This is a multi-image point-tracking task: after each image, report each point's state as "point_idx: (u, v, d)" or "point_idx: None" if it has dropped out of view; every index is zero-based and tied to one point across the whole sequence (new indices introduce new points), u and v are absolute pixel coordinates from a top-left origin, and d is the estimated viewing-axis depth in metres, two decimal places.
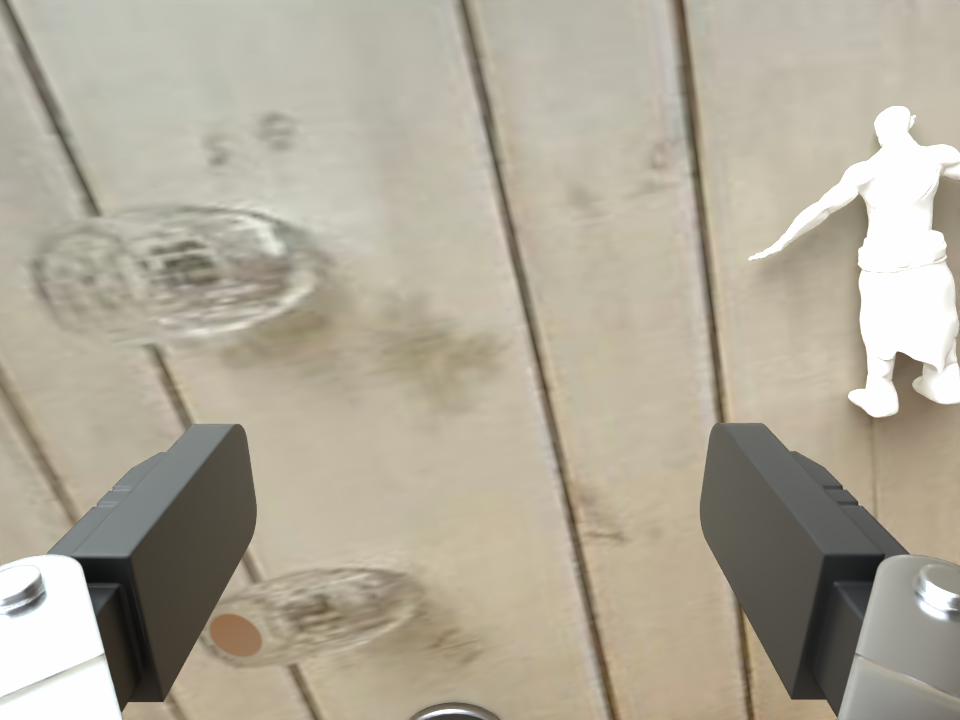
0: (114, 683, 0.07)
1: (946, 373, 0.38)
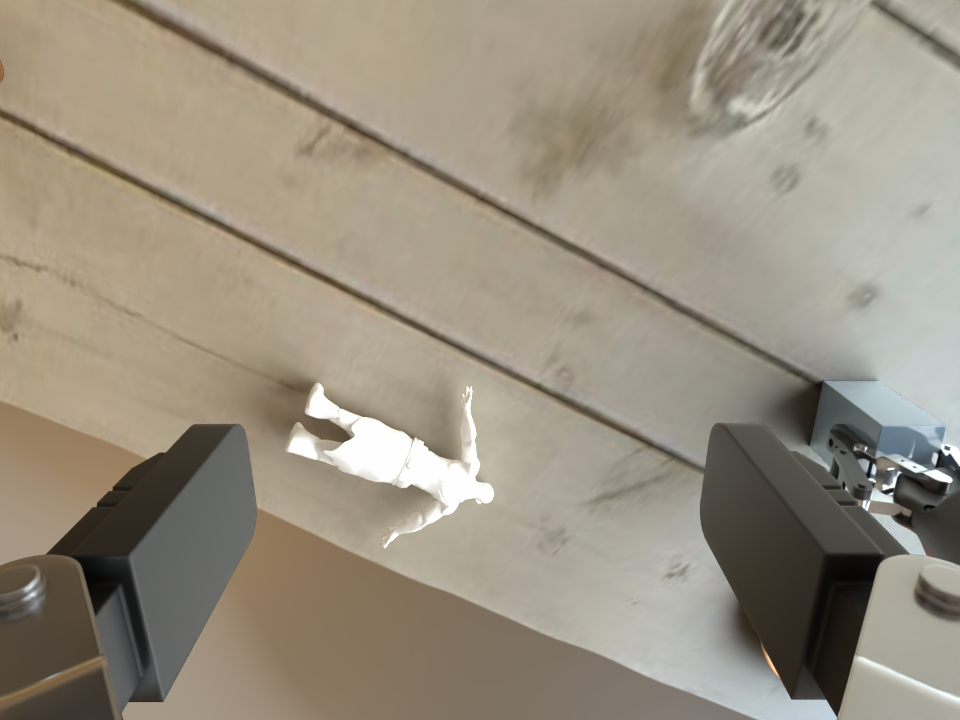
0: (113, 683, 0.07)
1: (312, 450, 0.52)
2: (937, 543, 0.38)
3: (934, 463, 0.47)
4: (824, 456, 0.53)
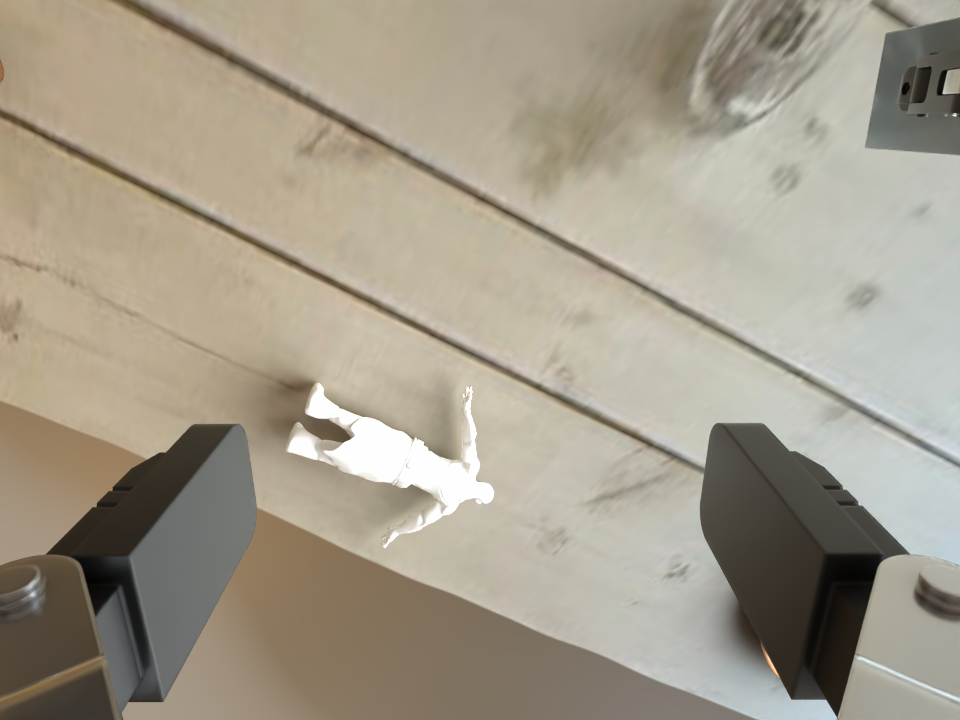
0: (113, 683, 0.07)
1: (312, 450, 0.52)
2: None
3: None
4: (890, 142, 0.36)
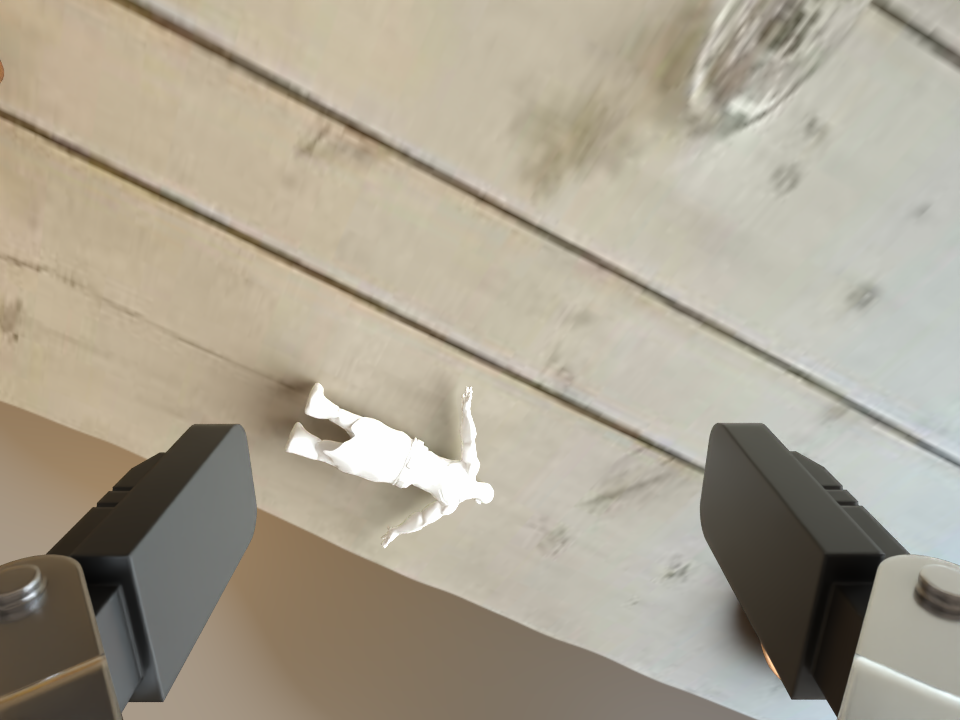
0: (113, 683, 0.07)
1: (312, 450, 0.52)
2: None
3: None
4: None
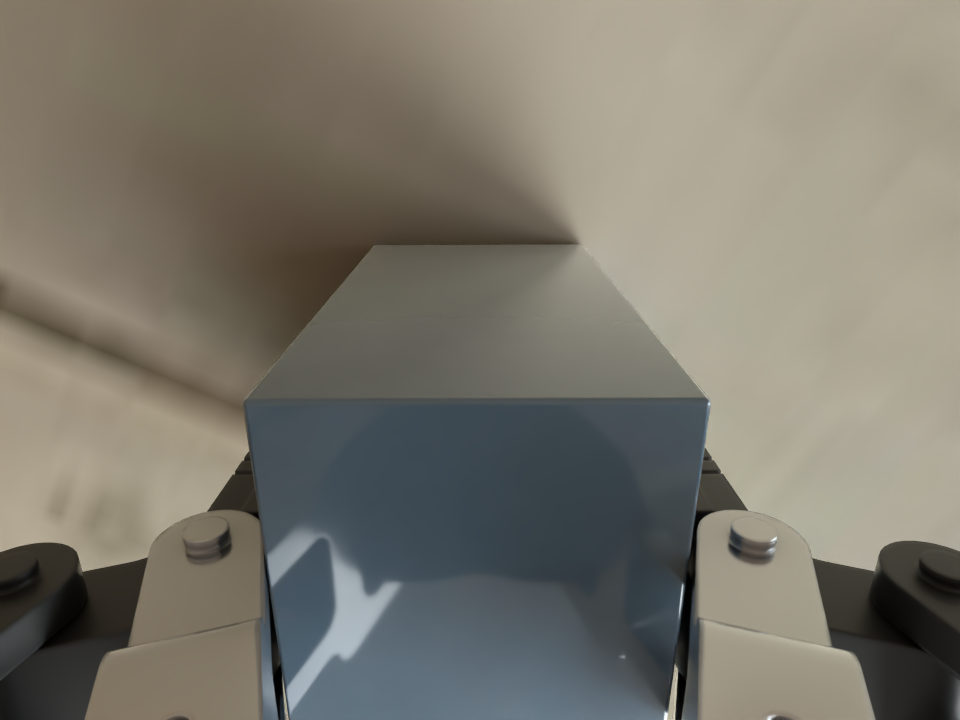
0: None
1: None
2: None
3: (666, 642, 0.07)
4: None
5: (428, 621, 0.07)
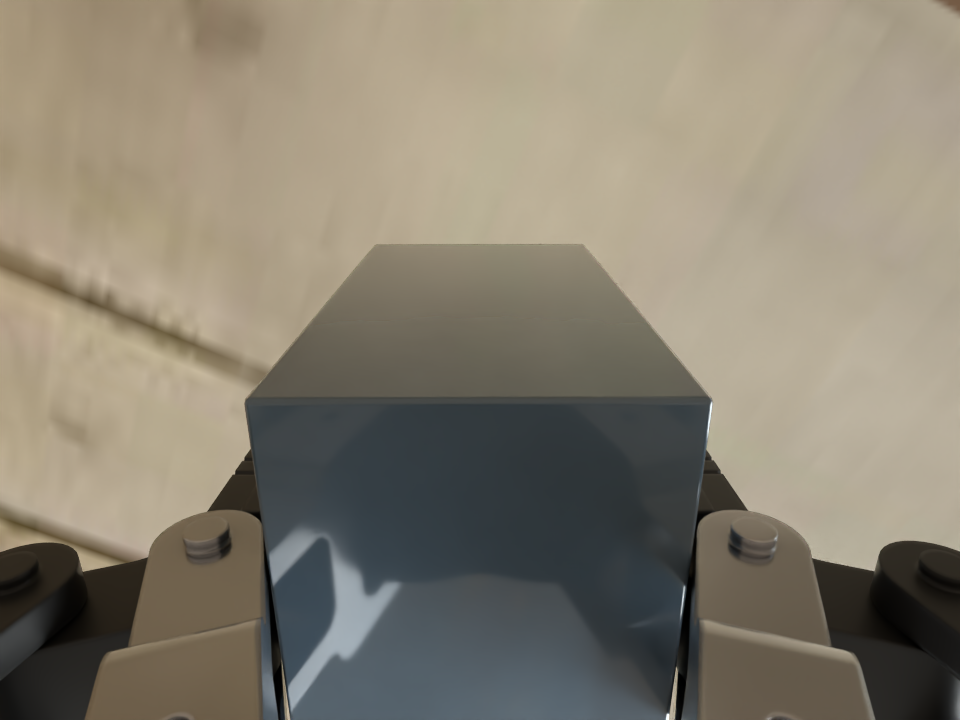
0: (278, 638, 0.08)
1: None
2: None
3: (667, 641, 0.07)
4: None
5: (429, 620, 0.07)
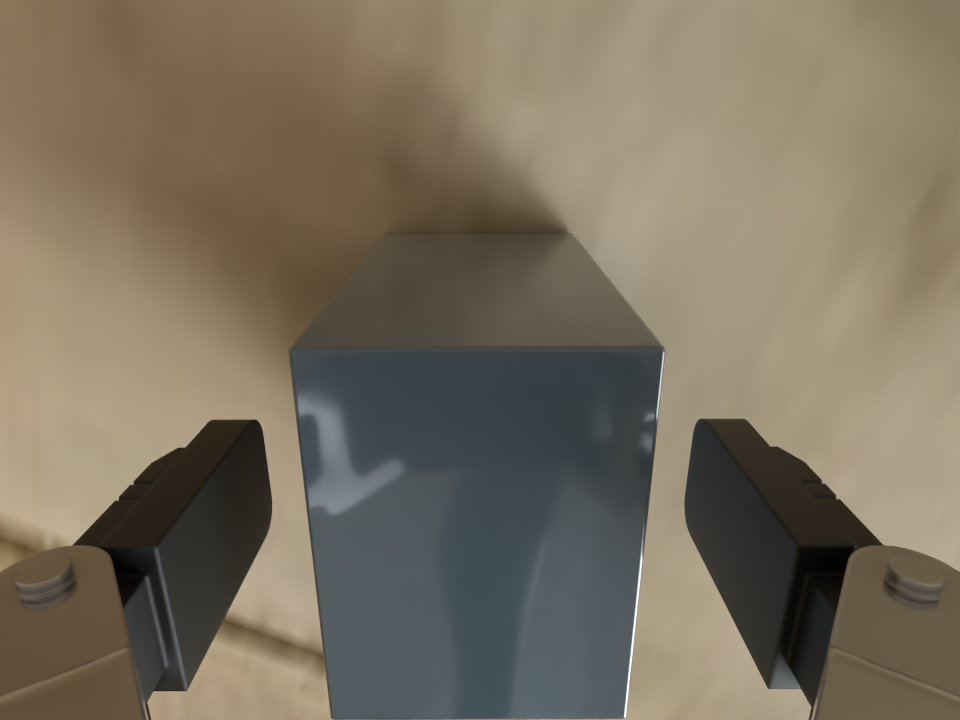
0: (140, 673, 0.07)
1: None
2: None
3: (633, 554, 0.09)
4: None
5: (437, 535, 0.09)
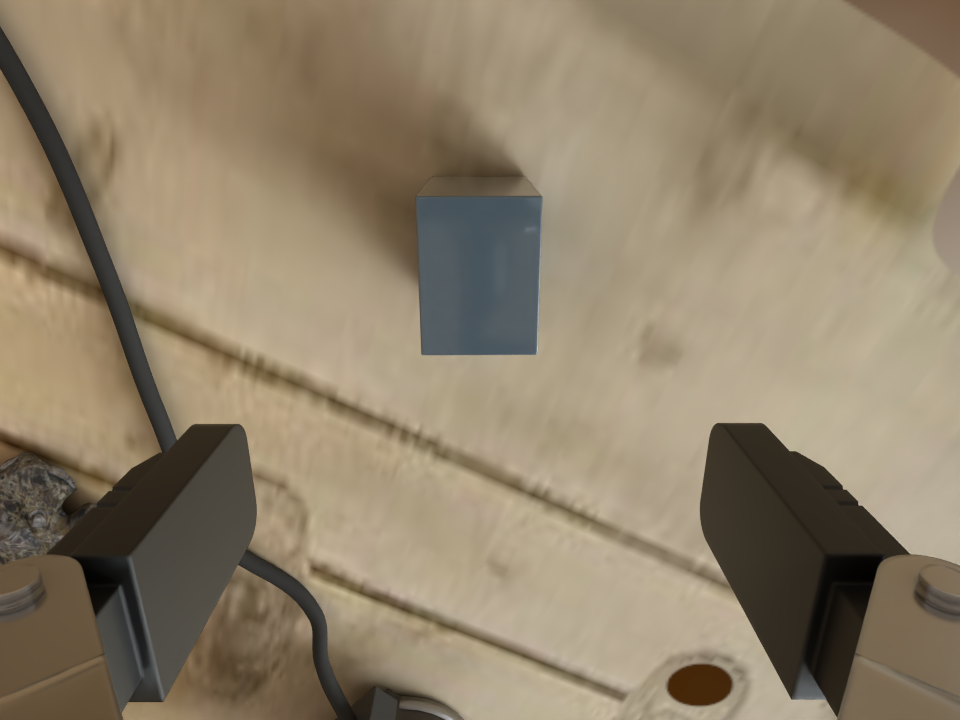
0: (114, 683, 0.07)
1: None
2: None
3: (535, 278, 0.25)
4: None
5: (464, 270, 0.24)
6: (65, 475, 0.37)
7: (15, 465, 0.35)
